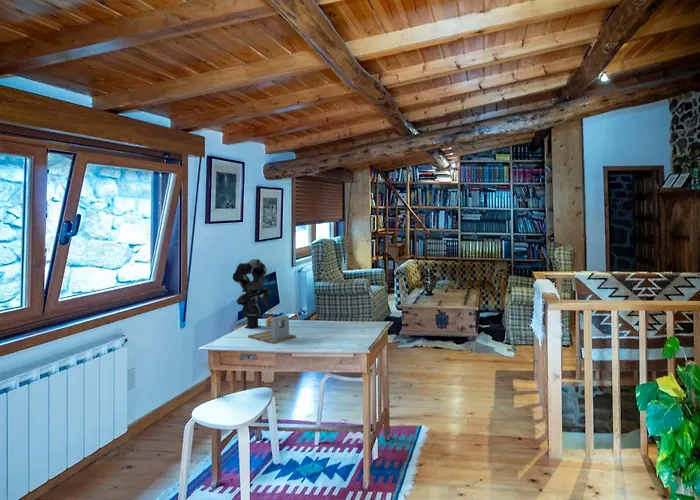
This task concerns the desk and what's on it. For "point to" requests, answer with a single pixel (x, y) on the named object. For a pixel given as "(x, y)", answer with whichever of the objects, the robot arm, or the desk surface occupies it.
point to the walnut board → (268, 337)
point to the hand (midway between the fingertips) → (261, 309)
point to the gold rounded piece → (270, 320)
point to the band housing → (279, 331)
